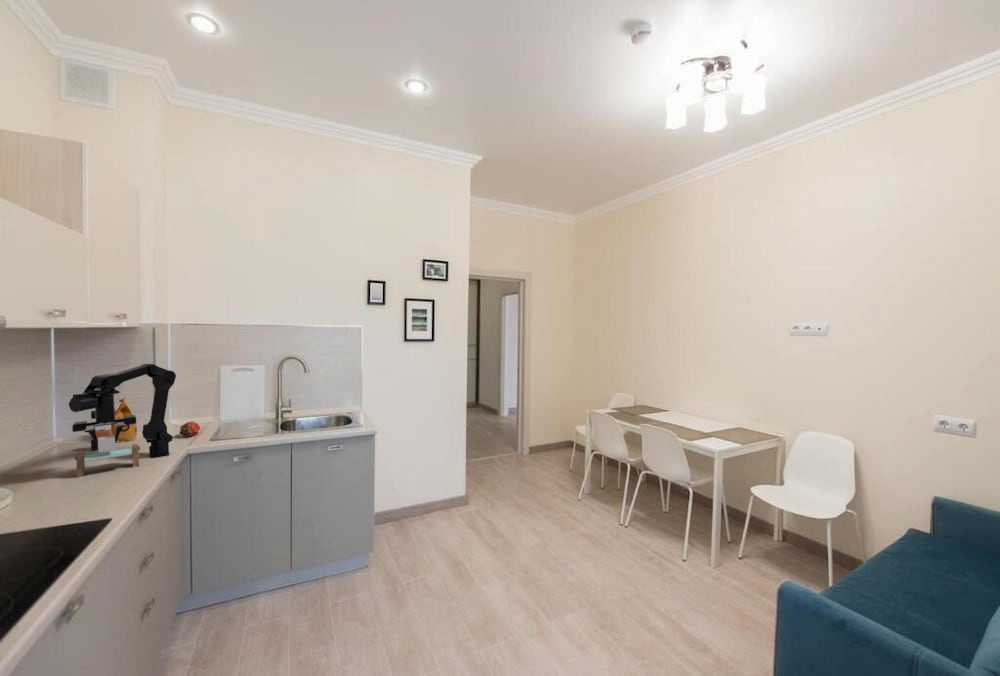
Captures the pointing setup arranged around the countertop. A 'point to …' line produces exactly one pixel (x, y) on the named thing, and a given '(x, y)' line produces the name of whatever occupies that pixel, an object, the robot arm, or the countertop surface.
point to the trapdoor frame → (81, 463)
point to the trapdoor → (107, 454)
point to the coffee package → (129, 430)
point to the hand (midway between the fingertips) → (106, 443)
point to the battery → (100, 434)
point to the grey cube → (106, 443)
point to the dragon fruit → (189, 429)
